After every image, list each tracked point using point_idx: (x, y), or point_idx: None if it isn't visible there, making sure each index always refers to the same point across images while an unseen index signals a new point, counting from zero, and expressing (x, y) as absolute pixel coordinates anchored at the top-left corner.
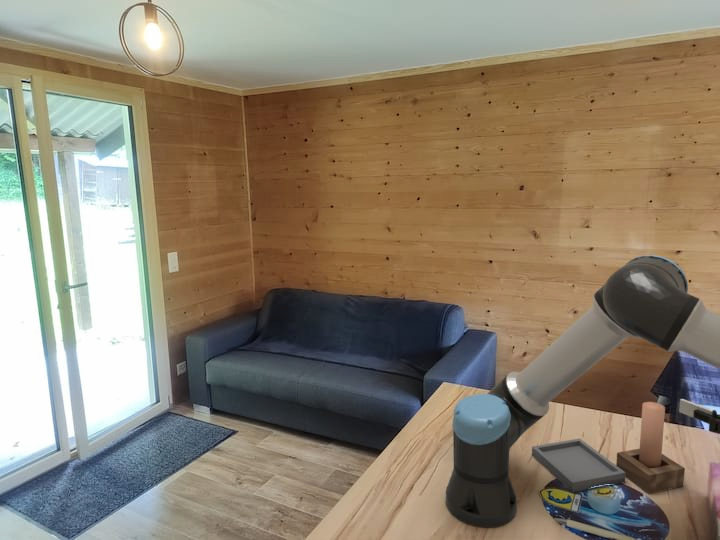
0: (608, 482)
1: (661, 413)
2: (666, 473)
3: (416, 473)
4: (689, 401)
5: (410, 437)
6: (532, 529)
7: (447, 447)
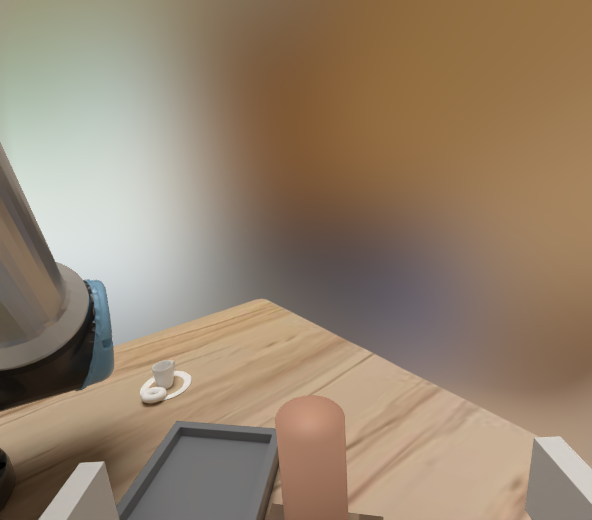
0: None
1: (306, 455)
2: None
3: None
4: (72, 505)
5: None
6: None
7: (103, 384)
